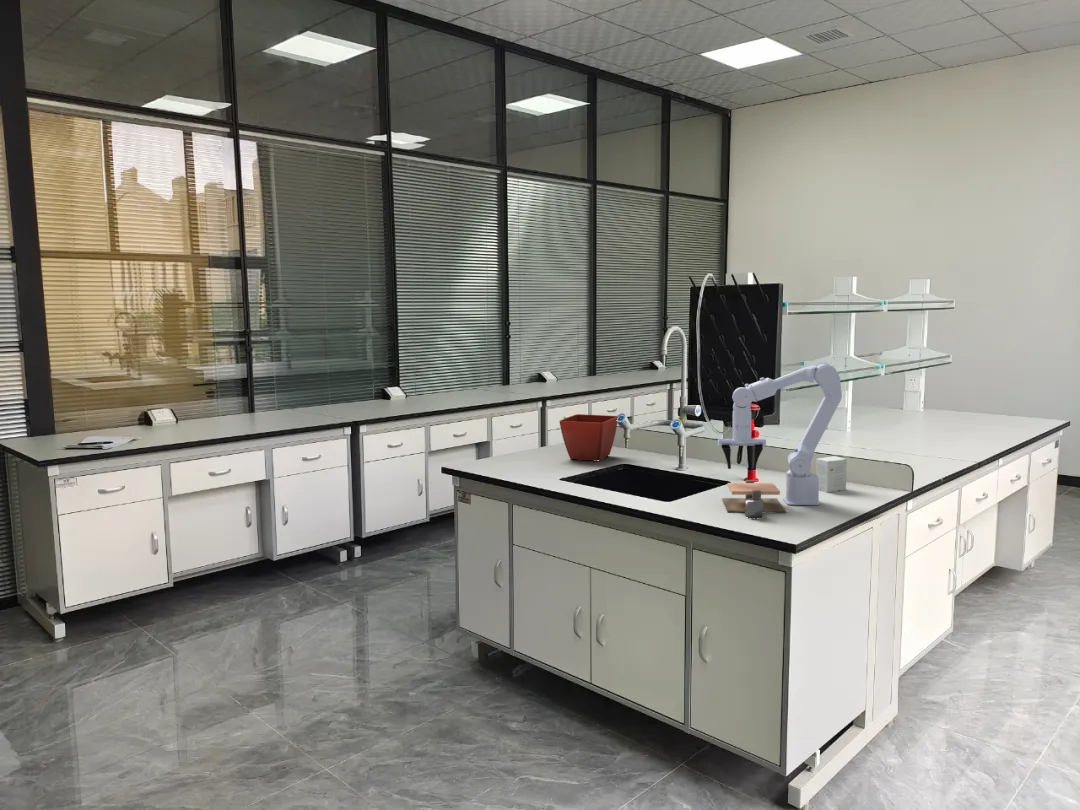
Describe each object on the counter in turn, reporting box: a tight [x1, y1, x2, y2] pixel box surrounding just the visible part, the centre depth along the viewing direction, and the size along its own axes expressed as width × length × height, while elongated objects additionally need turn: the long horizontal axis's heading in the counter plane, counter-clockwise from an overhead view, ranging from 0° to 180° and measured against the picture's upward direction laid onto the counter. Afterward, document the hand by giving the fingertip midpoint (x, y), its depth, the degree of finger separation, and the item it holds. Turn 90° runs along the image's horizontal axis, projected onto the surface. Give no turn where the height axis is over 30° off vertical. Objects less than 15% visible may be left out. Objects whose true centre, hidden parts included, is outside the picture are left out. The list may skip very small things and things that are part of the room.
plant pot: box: [559, 413, 619, 461], centre depth 317 cm, size 19×19×17 cm
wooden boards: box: [721, 479, 787, 513], centre depth 236 cm, size 17×15×6 cm
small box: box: [815, 455, 848, 493], centre depth 254 cm, size 8×6×10 cm
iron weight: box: [744, 498, 764, 520], centre depth 224 cm, size 5×5×5 cm
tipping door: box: [727, 482, 781, 496], centre depth 236 cm, size 14×12×1 cm
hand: (741, 468), depth 242 cm, fingers open, 7 cm apart
